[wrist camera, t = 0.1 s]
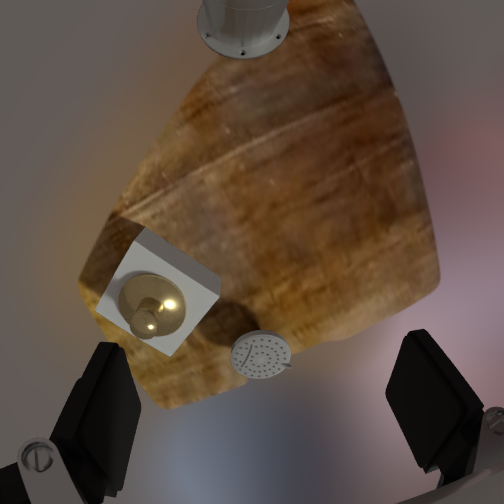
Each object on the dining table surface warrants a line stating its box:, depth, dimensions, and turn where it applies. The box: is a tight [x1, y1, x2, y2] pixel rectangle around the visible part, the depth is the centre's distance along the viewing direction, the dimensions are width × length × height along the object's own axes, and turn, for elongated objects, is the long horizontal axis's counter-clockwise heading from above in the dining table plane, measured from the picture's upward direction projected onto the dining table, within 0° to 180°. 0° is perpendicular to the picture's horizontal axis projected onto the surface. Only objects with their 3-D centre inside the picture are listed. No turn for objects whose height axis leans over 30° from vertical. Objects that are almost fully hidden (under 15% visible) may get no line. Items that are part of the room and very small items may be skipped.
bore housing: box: [95, 227, 221, 357], centre depth 46 cm, size 14×14×6 cm
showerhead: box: [231, 330, 292, 379], centre depth 50 cm, size 9×7×10 cm
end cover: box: [118, 273, 187, 340], centre depth 43 cm, size 10×10×10 cm
